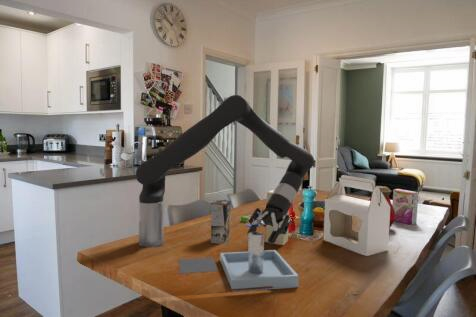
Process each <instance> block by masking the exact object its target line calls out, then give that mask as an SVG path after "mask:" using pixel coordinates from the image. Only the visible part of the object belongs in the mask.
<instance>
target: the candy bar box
mask: <svg viewBox="0 0 476 317" xmlns="http://www.w3.org/2000/svg"><path fill="white" fill-rule="evenodd" d="M418 203H419V192H418V191H412V190H407V189H401V188H395V189H393V190H392V201H391V204H392V206H393V209H394V211H395V214H396V217H397V218H396V220H395V221H394V222H399V223H403V224H407V225H410V226H414V225H417V219H418V205H419V204H418Z"/></svg>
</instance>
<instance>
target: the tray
mask: <svg viewBox="0 0 476 317" xmlns="http://www.w3.org/2000/svg"><path fill="white" fill-rule="evenodd" d="M219 261H220V264H221V266H222V268H223V271H224V274H225V276H226V278H227V281H228V284H229V285H230V288H231V293H243V291H244V292H253V291H254V290H257V291H268V289H269V290H277V289H278V290H280V289H292V288H299V277H300V276H299V275H298V273H297V272H296V271H295V270H294V269H293V268H292V267H291V265H290V264H289V263H288V262H287V261H286V260H285V259H284V258H283V257H282V256H281V254H280V253H279V252H278V251H277V249H267V250H264V272H263V273H260V274H253V273H250V272H249V271H248V251H233V252H220V253H219ZM254 288H255V289H254ZM241 289H242V290H241ZM254 292H255V291H254Z"/></svg>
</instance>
